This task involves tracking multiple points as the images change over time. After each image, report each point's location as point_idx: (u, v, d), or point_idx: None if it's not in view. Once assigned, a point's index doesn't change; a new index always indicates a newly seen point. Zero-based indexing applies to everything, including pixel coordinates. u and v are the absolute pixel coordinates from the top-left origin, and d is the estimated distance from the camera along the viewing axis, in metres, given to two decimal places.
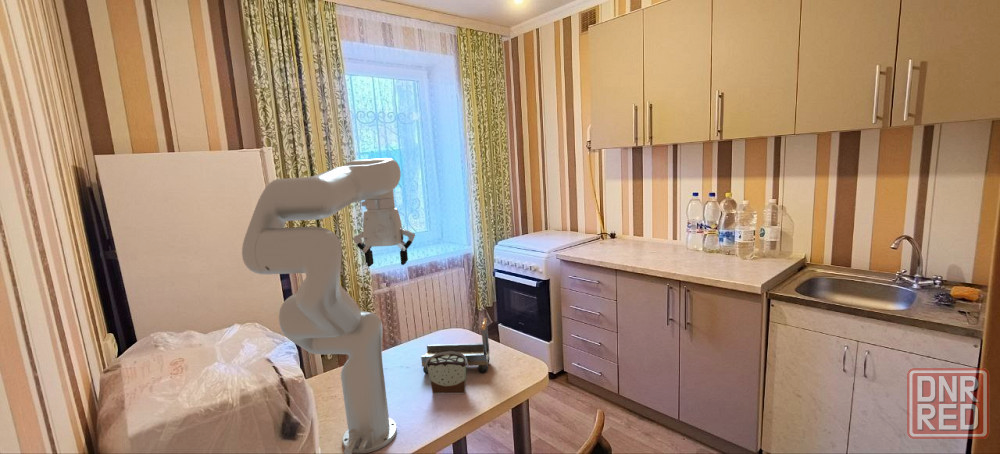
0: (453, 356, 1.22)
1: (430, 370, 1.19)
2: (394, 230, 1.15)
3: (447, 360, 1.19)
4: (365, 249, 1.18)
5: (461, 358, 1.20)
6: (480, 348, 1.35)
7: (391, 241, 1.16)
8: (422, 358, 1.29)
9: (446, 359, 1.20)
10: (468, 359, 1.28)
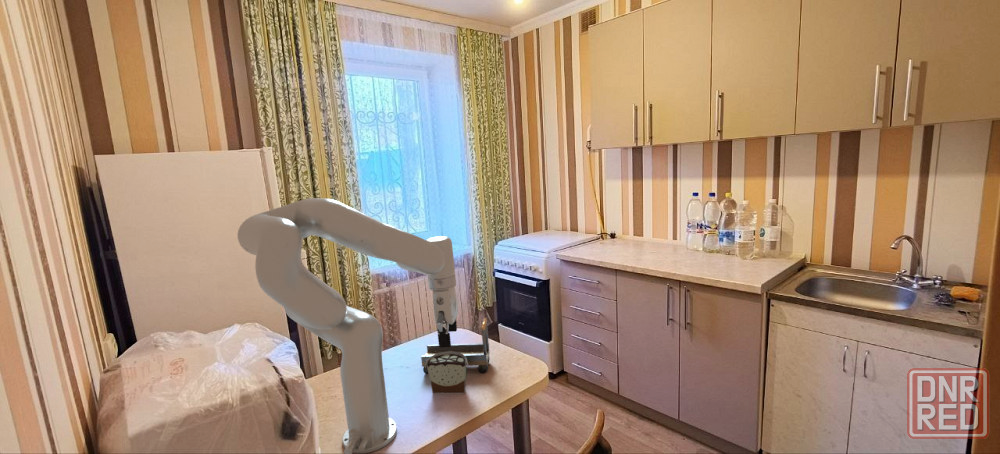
0: (453, 356, 1.22)
1: (430, 370, 1.19)
2: (456, 299, 1.22)
3: (447, 360, 1.19)
4: (447, 330, 1.14)
5: (461, 358, 1.20)
6: (480, 348, 1.35)
7: (457, 310, 1.21)
8: (422, 358, 1.29)
9: (446, 359, 1.20)
10: (468, 359, 1.28)
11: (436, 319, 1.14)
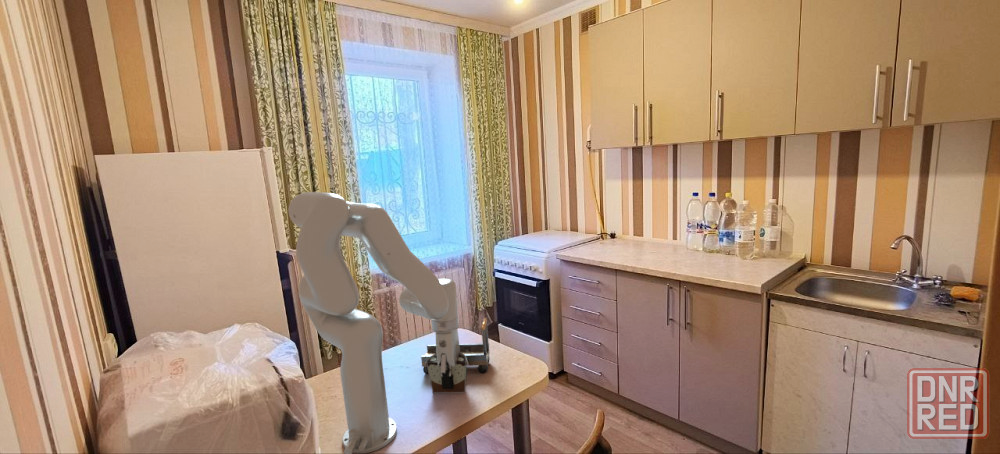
0: None
1: (430, 369, 1.19)
2: (458, 340, 1.24)
3: None
4: (450, 372, 1.17)
5: (461, 357, 1.21)
6: (480, 348, 1.35)
7: (459, 351, 1.23)
8: (422, 358, 1.29)
9: None
10: (468, 359, 1.28)
11: (438, 361, 1.16)
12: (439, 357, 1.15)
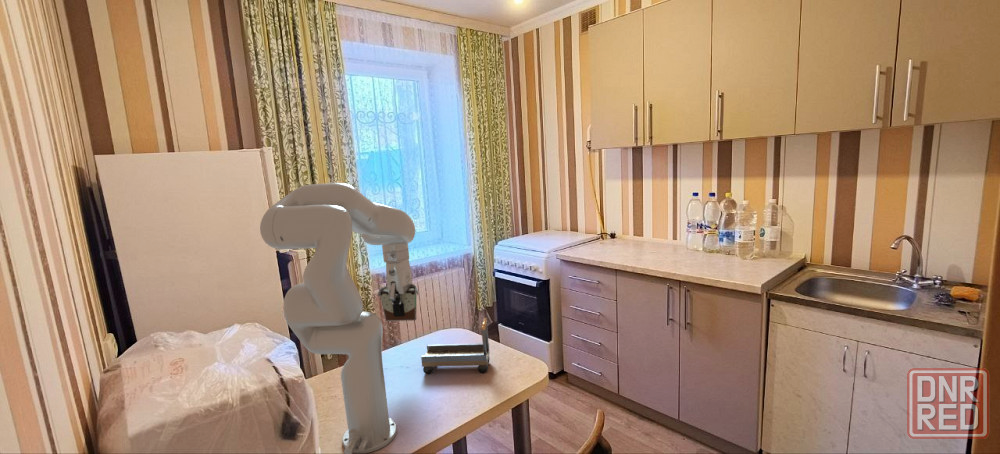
0: None
1: (383, 298, 1.28)
2: (410, 273, 1.32)
3: None
4: (401, 300, 1.26)
5: (412, 288, 1.29)
6: (480, 348, 1.35)
7: (411, 283, 1.31)
8: (422, 358, 1.29)
9: None
10: (468, 359, 1.28)
11: (388, 289, 1.24)
12: (389, 285, 1.24)
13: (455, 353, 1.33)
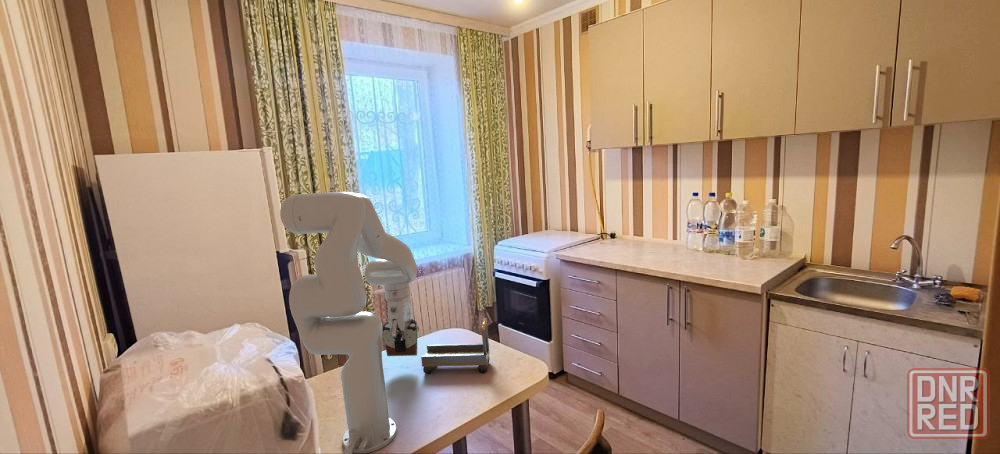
0: None
1: (384, 334, 1.30)
2: (411, 308, 1.35)
3: None
4: (402, 336, 1.29)
5: (413, 324, 1.32)
6: (480, 348, 1.35)
7: (412, 318, 1.34)
8: (422, 358, 1.29)
9: None
10: (468, 359, 1.28)
11: (390, 326, 1.27)
12: (391, 322, 1.27)
13: (455, 353, 1.33)
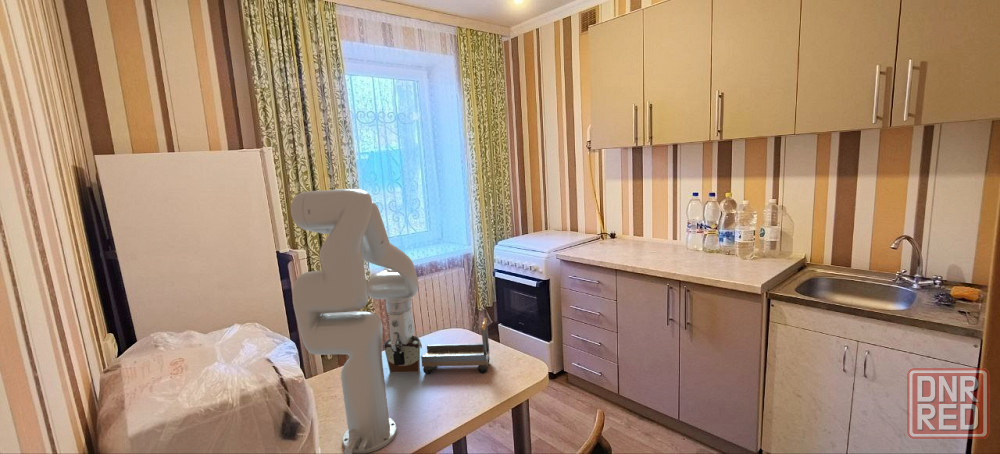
0: None
1: (387, 351, 1.32)
2: (412, 321, 1.36)
3: None
4: (401, 349, 1.28)
5: (416, 341, 1.33)
6: (480, 348, 1.35)
7: (413, 331, 1.35)
8: (422, 358, 1.29)
9: None
10: (468, 359, 1.28)
11: (392, 339, 1.28)
12: (392, 336, 1.27)
13: (455, 353, 1.33)
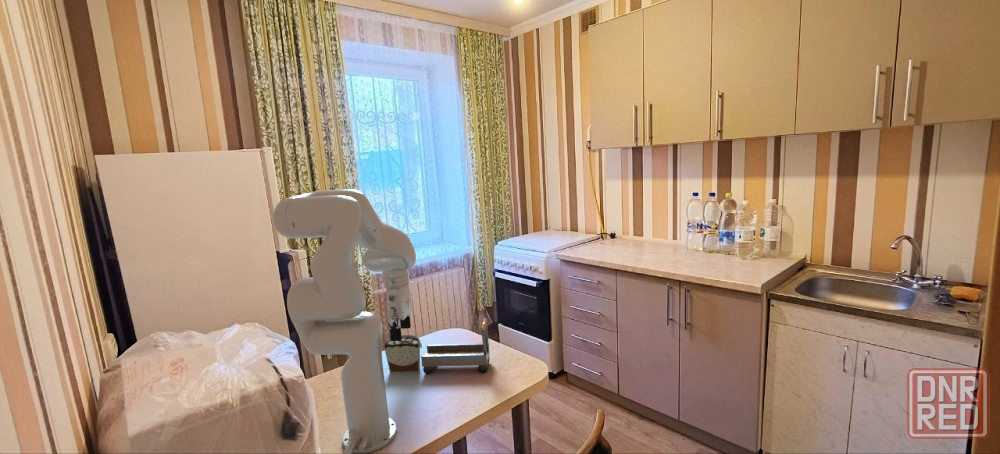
0: (409, 339, 1.35)
1: (387, 351, 1.32)
2: (410, 298, 1.34)
3: (403, 342, 1.32)
4: (398, 325, 1.26)
5: (416, 340, 1.34)
6: (480, 348, 1.35)
7: (410, 308, 1.33)
8: (422, 358, 1.29)
9: (402, 341, 1.33)
10: (468, 359, 1.28)
11: (388, 315, 1.26)
12: (389, 311, 1.25)
13: (455, 353, 1.33)
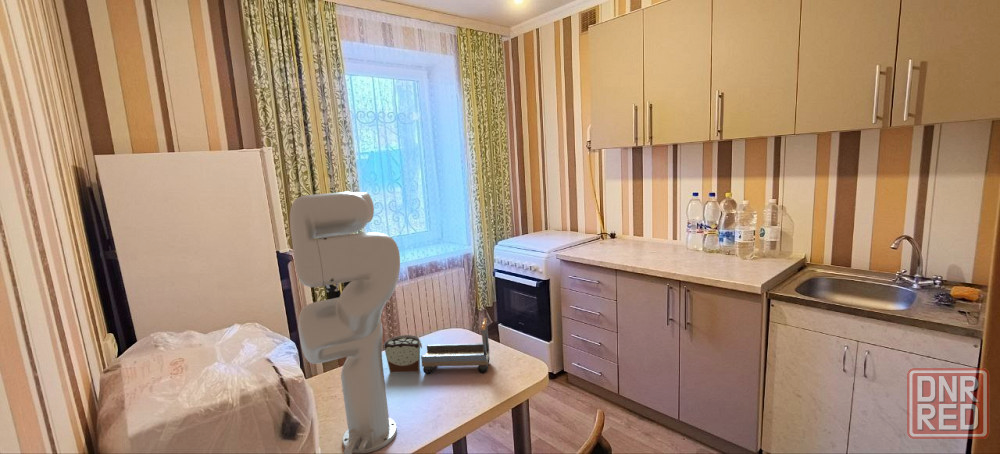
0: (409, 339, 1.35)
1: (387, 351, 1.32)
2: None
3: (403, 342, 1.32)
4: (337, 287, 1.12)
5: (416, 340, 1.34)
6: (480, 348, 1.35)
7: None
8: (422, 358, 1.29)
9: (402, 341, 1.33)
10: (468, 359, 1.28)
11: None
12: None
13: (455, 353, 1.33)
